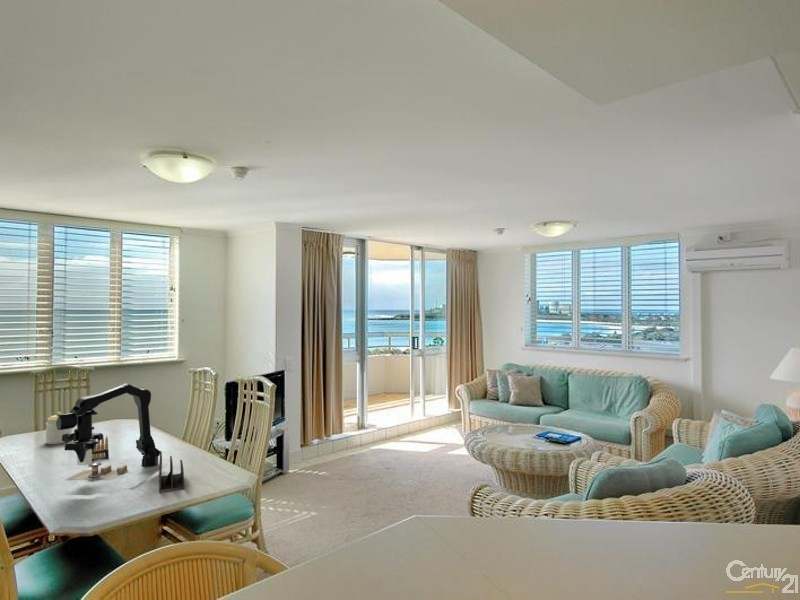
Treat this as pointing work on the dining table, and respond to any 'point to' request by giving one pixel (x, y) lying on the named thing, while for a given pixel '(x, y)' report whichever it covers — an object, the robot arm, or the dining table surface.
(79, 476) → the board
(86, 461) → the white block
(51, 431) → the jar
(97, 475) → the bobbin
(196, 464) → the dining table surface
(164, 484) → the letter holder
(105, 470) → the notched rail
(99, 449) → the ammunition clip
